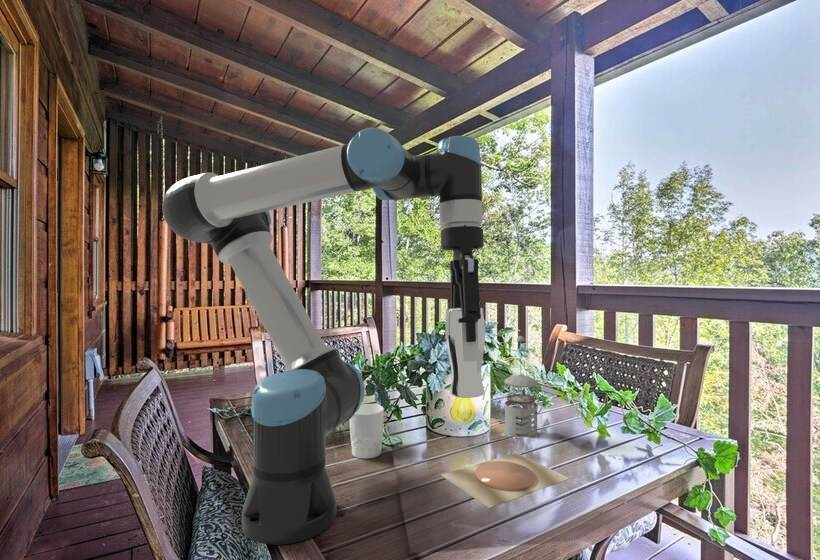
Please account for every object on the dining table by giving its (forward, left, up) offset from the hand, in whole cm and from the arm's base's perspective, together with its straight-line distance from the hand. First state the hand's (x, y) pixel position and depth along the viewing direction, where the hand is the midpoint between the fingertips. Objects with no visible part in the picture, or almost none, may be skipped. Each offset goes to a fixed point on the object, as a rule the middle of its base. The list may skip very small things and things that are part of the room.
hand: (465, 356), depth 77 cm
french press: (+22, +28, -26) cm, 44 cm away
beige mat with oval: (+9, +5, -26) cm, 28 cm away
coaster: (+9, +5, -24) cm, 26 cm away
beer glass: (0, 0, -7) cm, 7 cm away
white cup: (-17, +23, -26) cm, 39 cm away
